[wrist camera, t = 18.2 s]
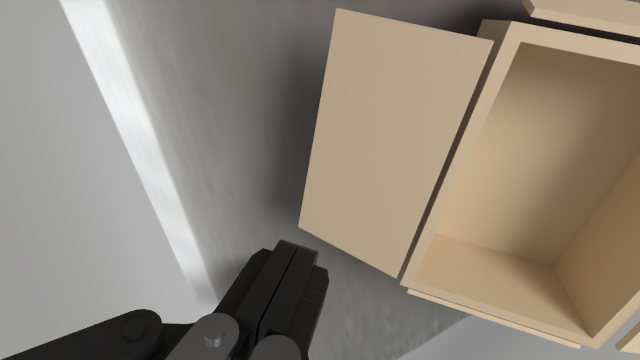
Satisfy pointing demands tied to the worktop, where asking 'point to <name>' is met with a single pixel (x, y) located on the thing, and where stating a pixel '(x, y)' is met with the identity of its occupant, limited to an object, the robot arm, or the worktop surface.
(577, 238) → the carton
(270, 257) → the robot arm
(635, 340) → the flap
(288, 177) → the worktop surface
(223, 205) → the worktop surface
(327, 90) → the flap
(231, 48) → the worktop surface
